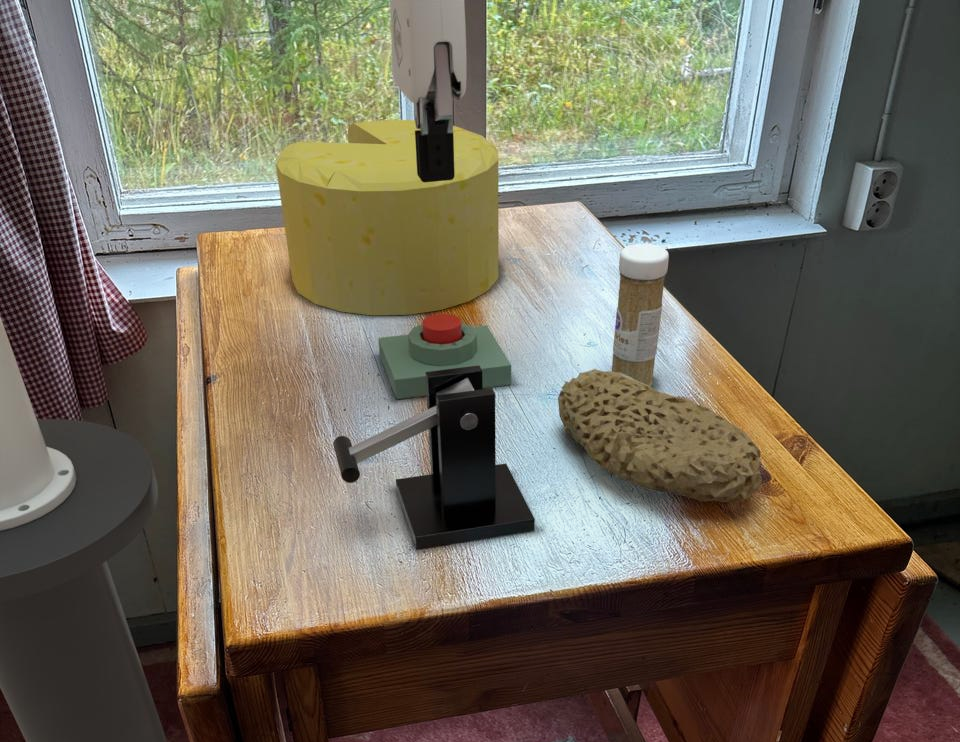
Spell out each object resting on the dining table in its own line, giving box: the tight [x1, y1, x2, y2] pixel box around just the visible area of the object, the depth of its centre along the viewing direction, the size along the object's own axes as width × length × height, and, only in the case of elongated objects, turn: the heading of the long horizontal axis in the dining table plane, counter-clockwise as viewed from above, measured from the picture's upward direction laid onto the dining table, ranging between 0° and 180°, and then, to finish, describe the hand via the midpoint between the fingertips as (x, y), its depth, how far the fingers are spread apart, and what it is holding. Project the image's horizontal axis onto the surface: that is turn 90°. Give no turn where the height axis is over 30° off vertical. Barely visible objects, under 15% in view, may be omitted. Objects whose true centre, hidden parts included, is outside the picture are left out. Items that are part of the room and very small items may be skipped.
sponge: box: [557, 368, 763, 503], centre depth 85 cm, size 13×8×20 cm
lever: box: [332, 378, 474, 484], centre depth 76 cm, size 12×5×2 cm, turn 104°
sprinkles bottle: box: [610, 243, 670, 388], centre depth 95 cm, size 5×5×14 cm
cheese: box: [275, 119, 499, 316], centre depth 118 cm, size 26×26×15 cm
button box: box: [377, 321, 512, 400], centre depth 101 cm, size 12×10×4 cm
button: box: [421, 313, 463, 344], centre depth 99 cm, size 4×4×2 cm
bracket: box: [395, 365, 536, 550], centre depth 79 cm, size 10×9×12 cm
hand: (435, 178), depth 90 cm, fingers closed
